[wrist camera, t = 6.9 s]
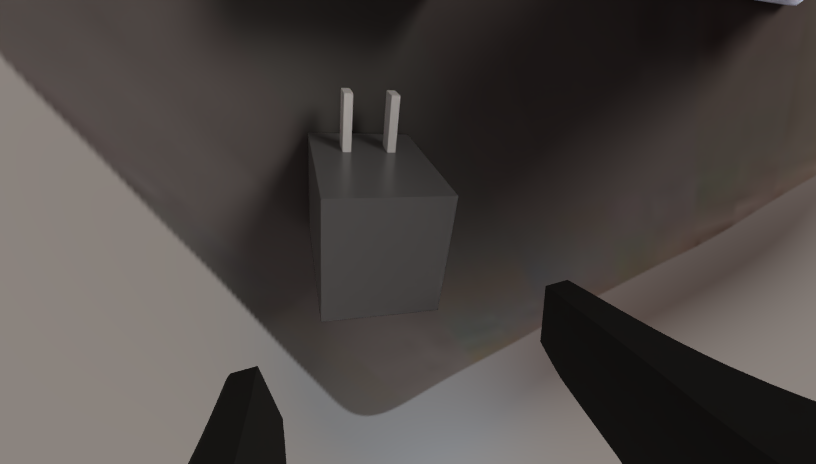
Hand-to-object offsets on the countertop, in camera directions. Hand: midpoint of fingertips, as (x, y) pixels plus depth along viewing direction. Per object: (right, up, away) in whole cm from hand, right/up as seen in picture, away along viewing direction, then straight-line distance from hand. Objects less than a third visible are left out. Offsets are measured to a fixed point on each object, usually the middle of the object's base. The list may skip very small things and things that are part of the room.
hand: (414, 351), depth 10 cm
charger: (-2, +5, +7) cm, 9 cm away
